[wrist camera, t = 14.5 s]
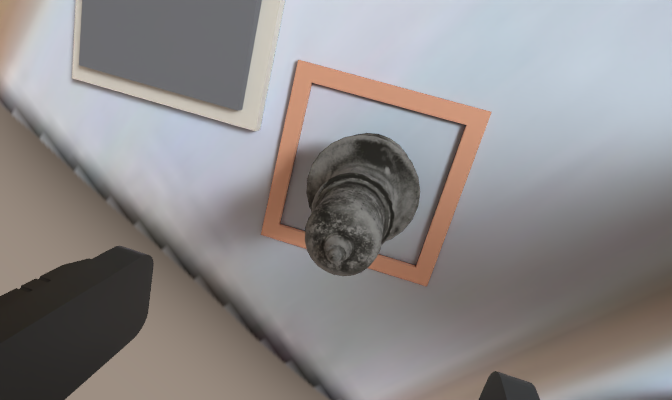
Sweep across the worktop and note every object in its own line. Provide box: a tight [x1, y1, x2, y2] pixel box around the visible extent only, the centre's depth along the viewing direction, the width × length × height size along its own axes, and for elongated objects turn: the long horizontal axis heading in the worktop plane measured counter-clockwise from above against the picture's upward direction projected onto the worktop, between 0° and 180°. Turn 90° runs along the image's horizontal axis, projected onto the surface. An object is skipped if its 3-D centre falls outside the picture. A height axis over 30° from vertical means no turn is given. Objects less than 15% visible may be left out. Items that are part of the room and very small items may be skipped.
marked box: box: [261, 60, 491, 286], centre depth 24 cm, size 11×11×1 cm
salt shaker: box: [305, 133, 420, 276], centre depth 18 cm, size 6×6×12 cm
